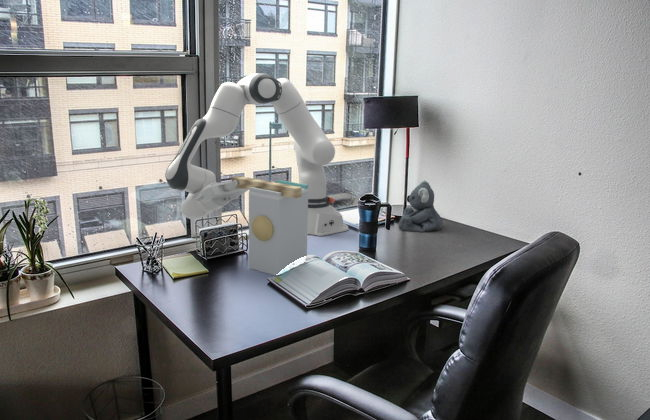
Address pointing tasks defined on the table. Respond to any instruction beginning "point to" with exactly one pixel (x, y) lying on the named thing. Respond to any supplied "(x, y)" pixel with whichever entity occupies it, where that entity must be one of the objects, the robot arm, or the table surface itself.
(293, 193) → the maple shaft
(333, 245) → the table surface
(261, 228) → the grey box with disc
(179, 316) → the table surface
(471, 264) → the table surface
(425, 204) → the koala plush
